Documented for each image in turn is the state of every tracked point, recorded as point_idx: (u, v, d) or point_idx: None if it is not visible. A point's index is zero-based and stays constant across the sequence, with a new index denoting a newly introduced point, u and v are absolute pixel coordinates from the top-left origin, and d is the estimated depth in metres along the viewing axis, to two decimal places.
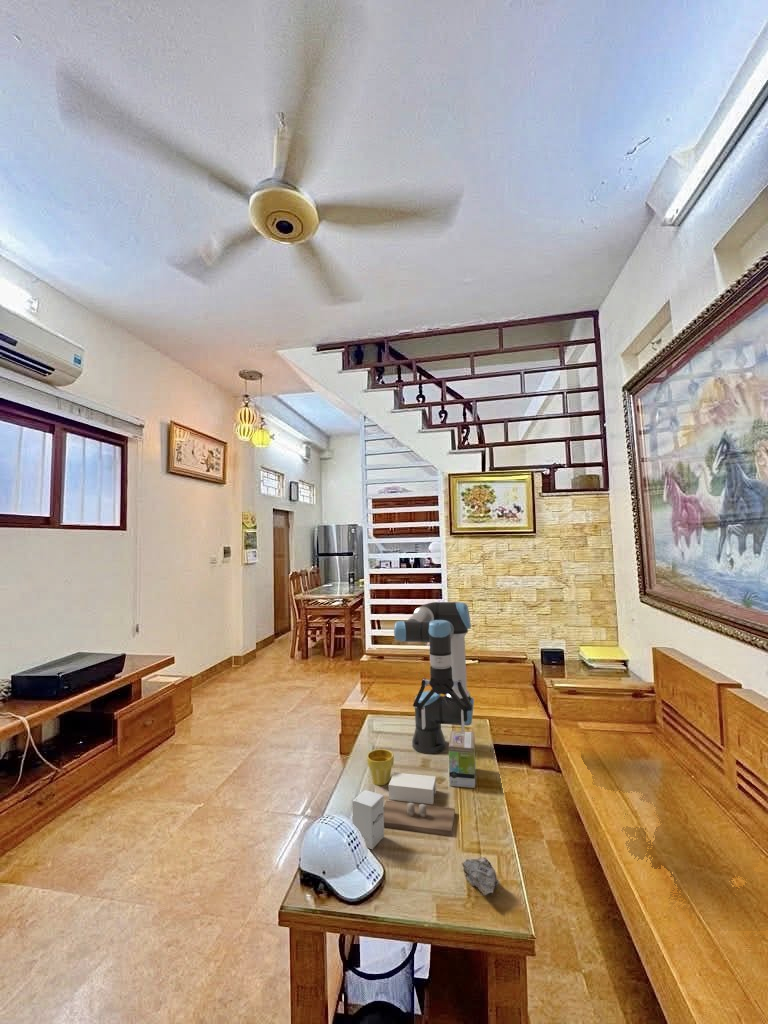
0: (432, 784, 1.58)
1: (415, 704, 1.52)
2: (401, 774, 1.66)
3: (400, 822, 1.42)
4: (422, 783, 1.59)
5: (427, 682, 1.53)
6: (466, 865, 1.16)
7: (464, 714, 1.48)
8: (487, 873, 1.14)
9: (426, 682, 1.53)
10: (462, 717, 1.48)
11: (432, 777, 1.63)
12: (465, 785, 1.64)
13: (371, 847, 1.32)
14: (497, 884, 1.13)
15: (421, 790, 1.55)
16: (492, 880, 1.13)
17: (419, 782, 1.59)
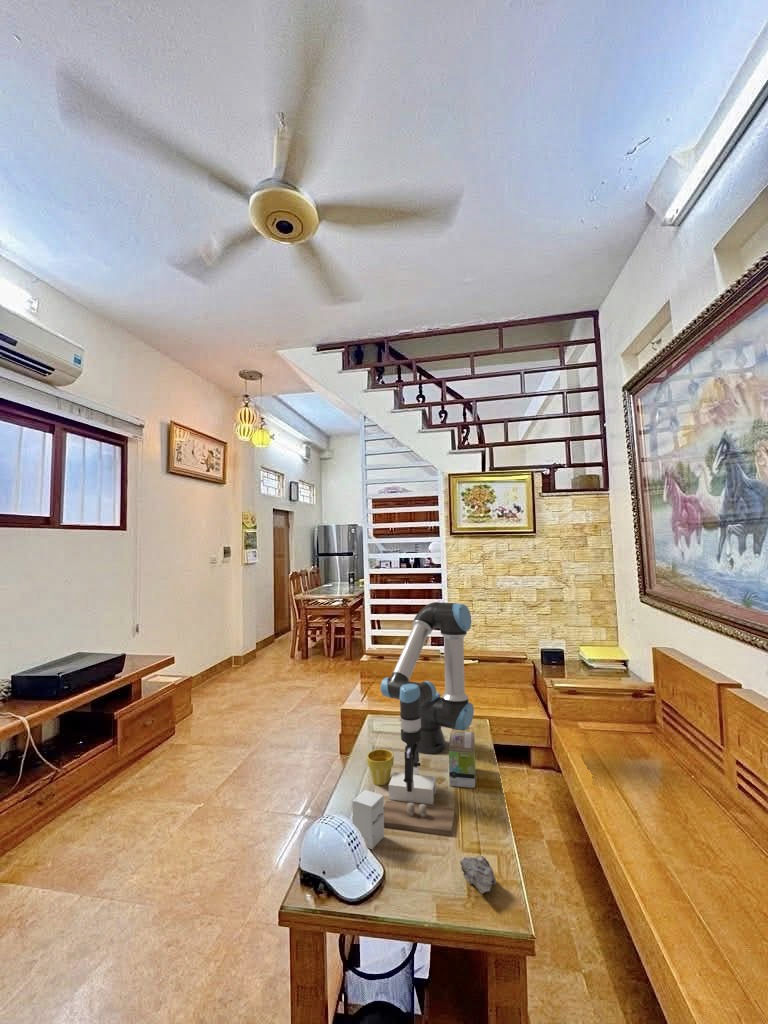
0: (432, 784, 1.58)
1: None
2: (401, 774, 1.66)
3: (400, 822, 1.42)
4: (422, 783, 1.59)
5: None
6: (464, 863, 1.17)
7: None
8: (484, 871, 1.15)
9: None
10: (406, 785, 1.56)
11: (432, 777, 1.63)
12: (465, 785, 1.64)
13: (371, 847, 1.32)
14: (494, 883, 1.14)
15: (421, 790, 1.55)
16: (489, 879, 1.13)
17: (419, 782, 1.59)
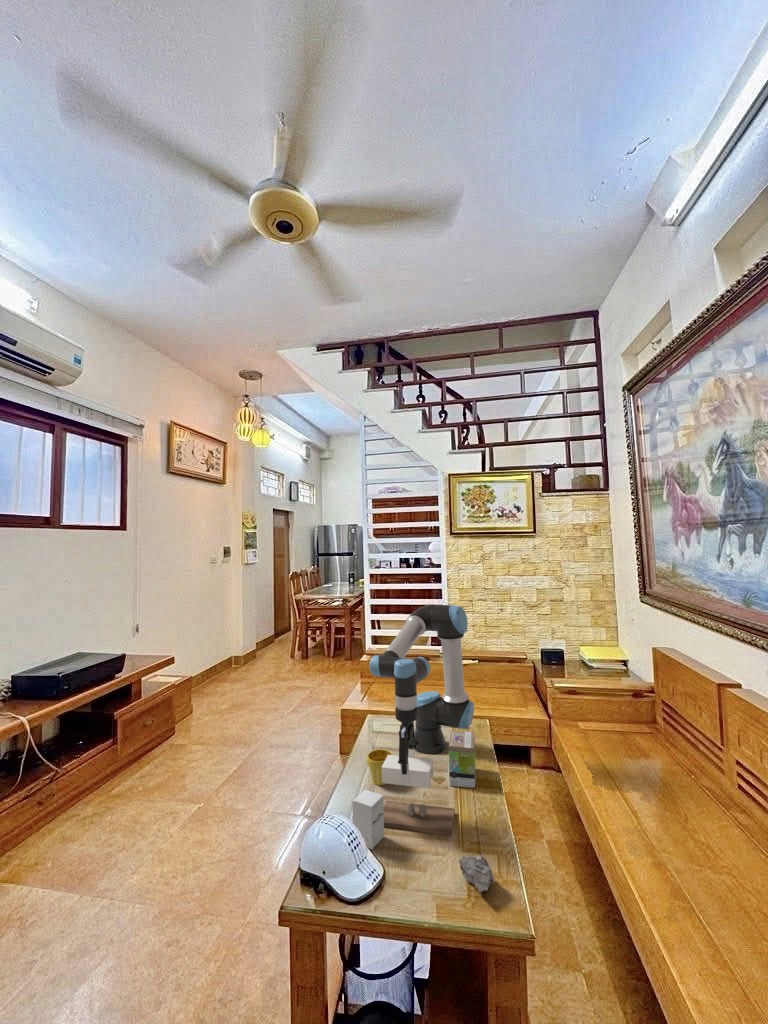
0: (429, 766, 1.45)
1: None
2: (396, 756, 1.53)
3: (400, 822, 1.42)
4: (417, 765, 1.46)
5: None
6: (462, 862, 1.17)
7: (402, 765, 1.43)
8: (482, 870, 1.15)
9: None
10: None
11: (429, 759, 1.50)
12: (465, 785, 1.64)
13: (371, 847, 1.32)
14: (492, 882, 1.14)
15: (417, 773, 1.43)
16: (487, 878, 1.14)
17: (415, 764, 1.47)
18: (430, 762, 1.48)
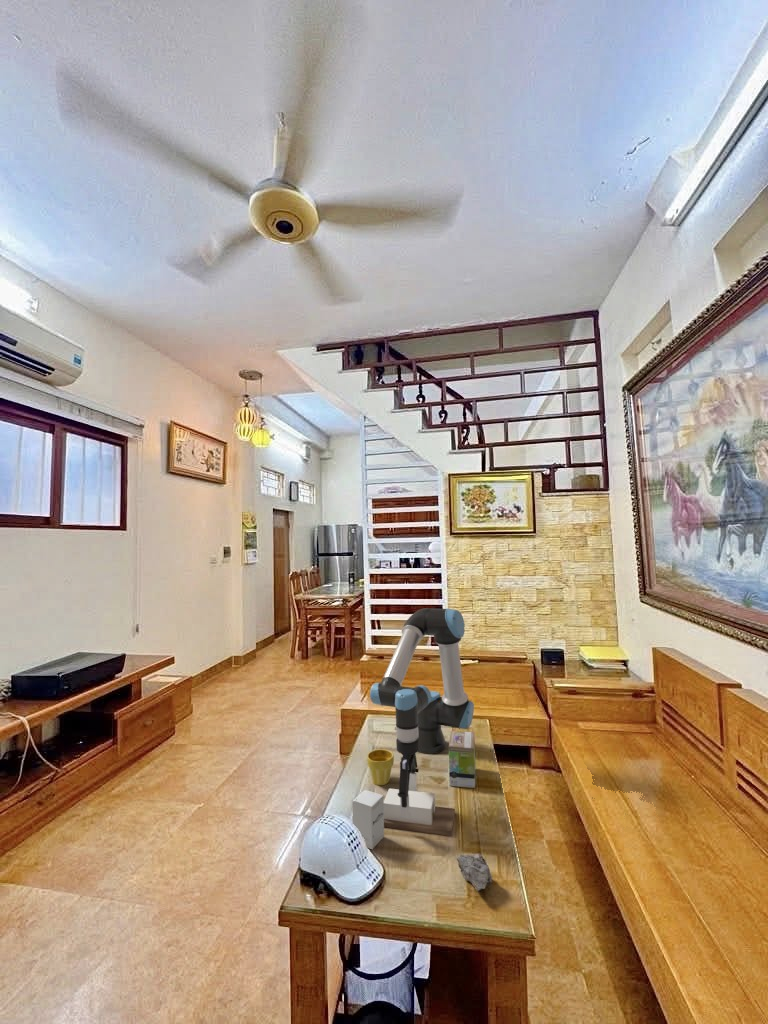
0: (430, 802, 1.44)
1: None
2: (397, 790, 1.52)
3: (400, 822, 1.42)
4: (419, 801, 1.45)
5: None
6: (460, 860, 1.18)
7: (402, 798, 1.40)
8: (480, 869, 1.16)
9: None
10: None
11: (431, 794, 1.49)
12: (465, 785, 1.64)
13: (371, 847, 1.32)
14: (490, 881, 1.14)
15: (418, 809, 1.42)
16: (485, 876, 1.14)
17: (417, 800, 1.46)
18: (432, 797, 1.47)
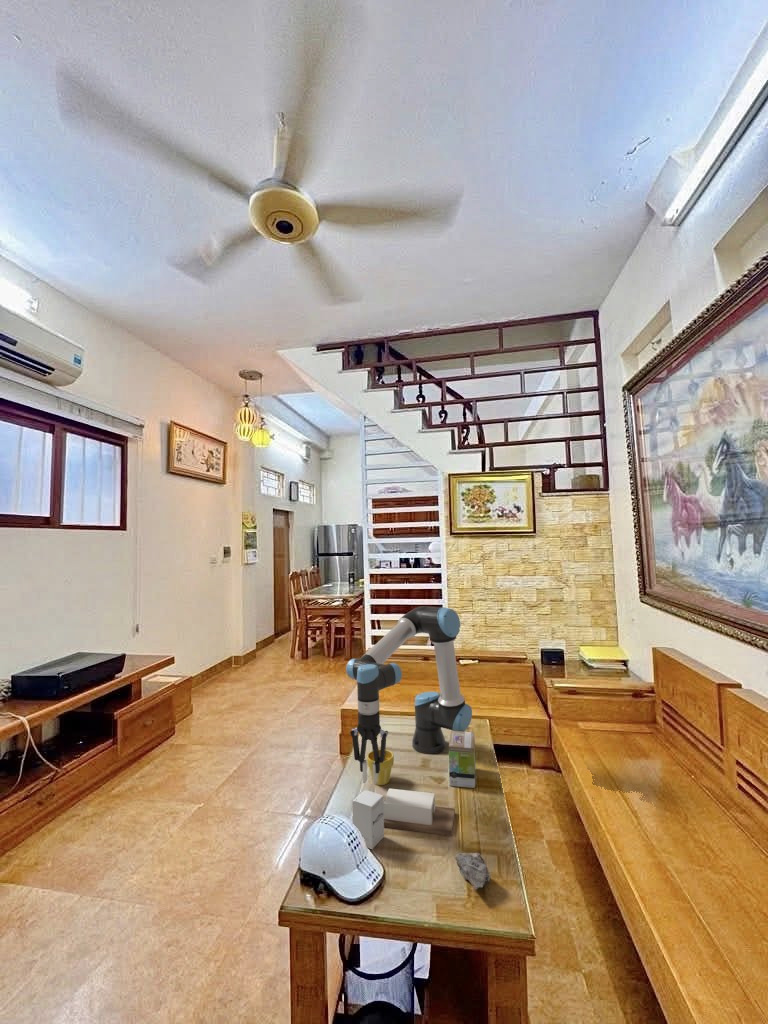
0: (430, 802, 1.44)
1: (356, 757, 1.51)
2: (397, 790, 1.52)
3: (400, 822, 1.42)
4: (419, 801, 1.45)
5: (356, 730, 1.53)
6: (458, 858, 1.19)
7: (376, 766, 1.50)
8: (478, 868, 1.16)
9: (355, 731, 1.53)
10: (374, 769, 1.49)
11: (431, 794, 1.49)
12: (465, 785, 1.64)
13: (371, 847, 1.32)
14: (488, 879, 1.15)
15: (418, 809, 1.42)
16: (483, 875, 1.15)
17: (417, 800, 1.46)
18: (432, 797, 1.47)
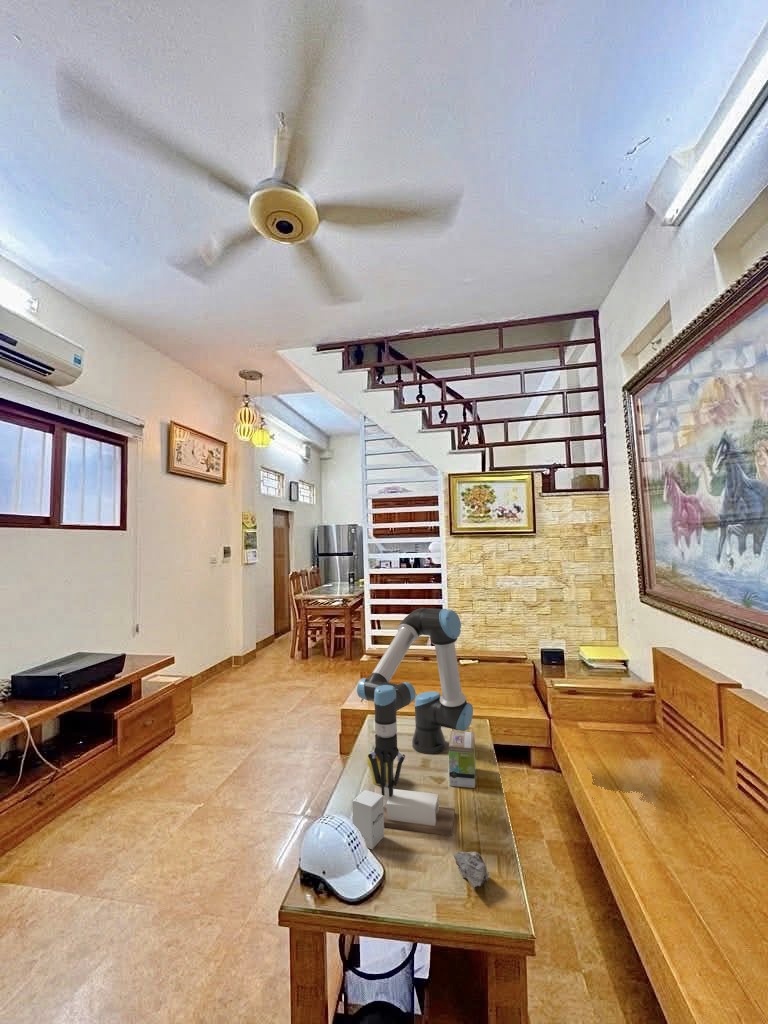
0: (434, 803, 1.44)
1: (377, 781, 1.49)
2: (401, 790, 1.52)
3: (400, 822, 1.42)
4: (423, 801, 1.45)
5: (373, 753, 1.51)
6: (457, 857, 1.19)
7: (389, 789, 1.48)
8: (476, 866, 1.16)
9: (372, 754, 1.51)
10: (387, 792, 1.48)
11: (434, 795, 1.49)
12: (465, 785, 1.64)
13: (371, 847, 1.32)
14: (486, 878, 1.15)
15: (422, 810, 1.41)
16: (481, 874, 1.15)
17: (420, 800, 1.45)
18: (435, 798, 1.47)
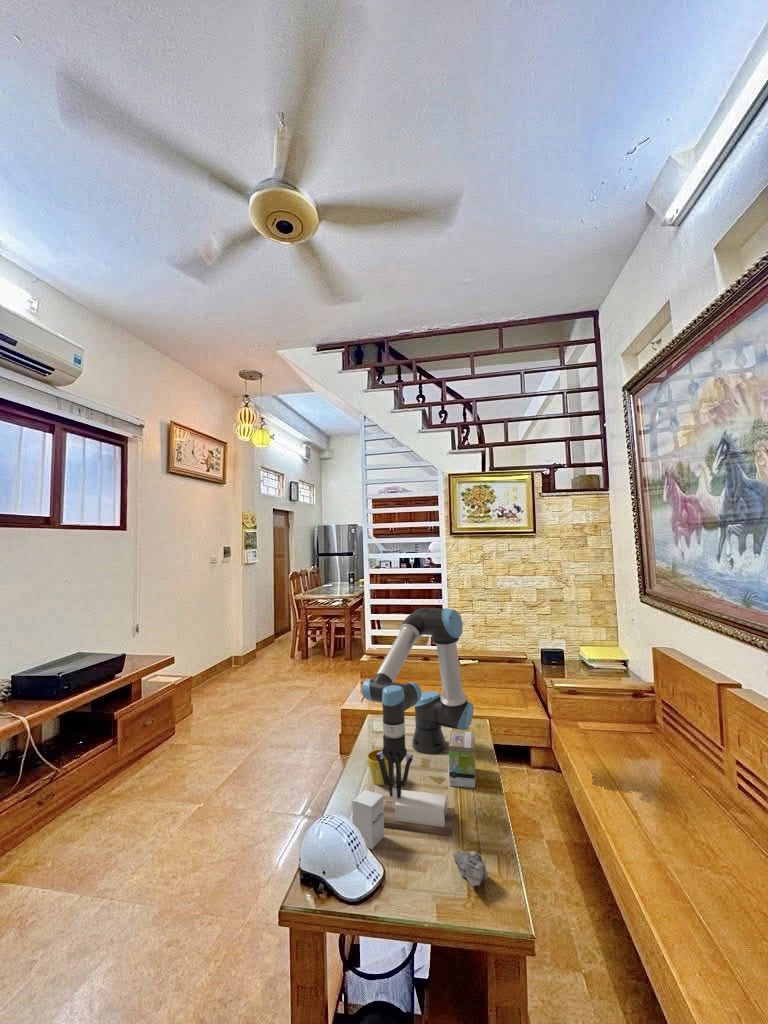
0: (443, 804, 1.43)
1: (385, 781, 1.48)
2: (409, 791, 1.51)
3: (400, 822, 1.42)
4: (431, 802, 1.44)
5: (381, 754, 1.50)
6: (456, 856, 1.19)
7: (397, 790, 1.47)
8: (475, 866, 1.17)
9: (380, 754, 1.50)
10: (395, 793, 1.47)
11: (442, 796, 1.48)
12: (465, 785, 1.64)
13: (371, 847, 1.32)
14: (485, 878, 1.15)
15: (431, 811, 1.41)
16: (479, 873, 1.15)
17: (429, 801, 1.45)
18: (444, 799, 1.46)
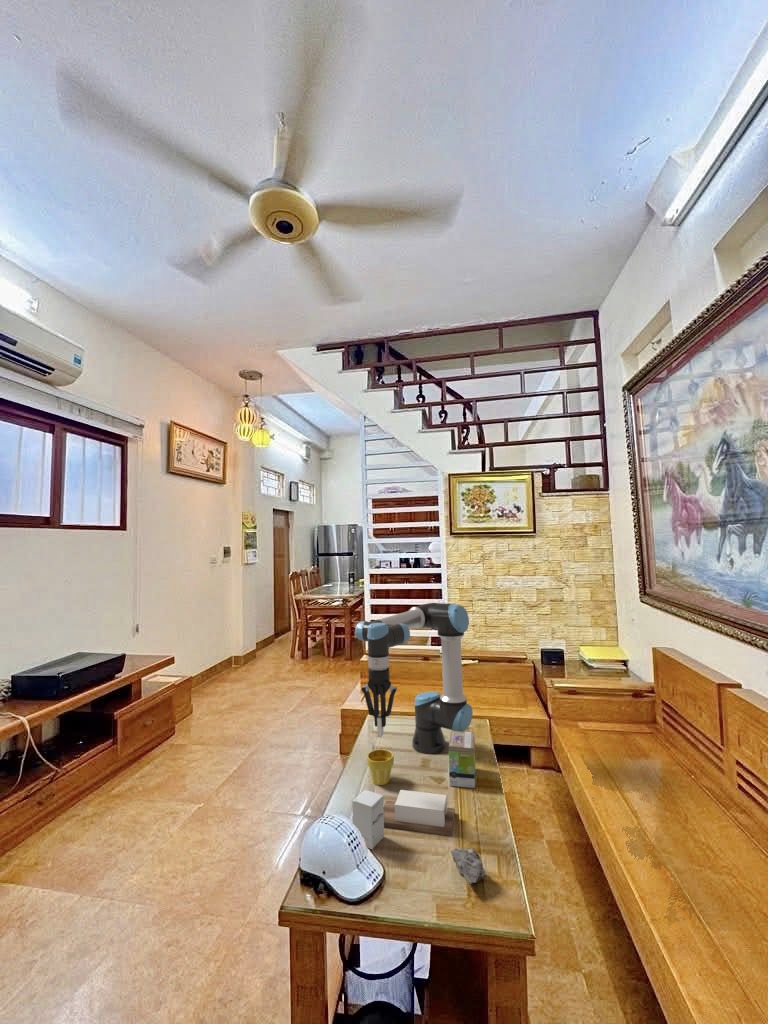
0: (443, 804, 1.43)
1: (370, 712, 1.55)
2: (409, 791, 1.51)
3: (400, 822, 1.42)
4: (431, 802, 1.44)
5: (366, 687, 1.57)
6: (454, 853, 1.21)
7: (382, 720, 1.54)
8: (472, 863, 1.18)
9: (366, 687, 1.57)
10: (380, 723, 1.54)
11: (442, 796, 1.48)
12: (465, 785, 1.64)
13: (371, 847, 1.32)
14: (482, 875, 1.16)
15: (431, 811, 1.41)
16: (476, 871, 1.16)
17: (429, 801, 1.45)
18: (444, 799, 1.46)
